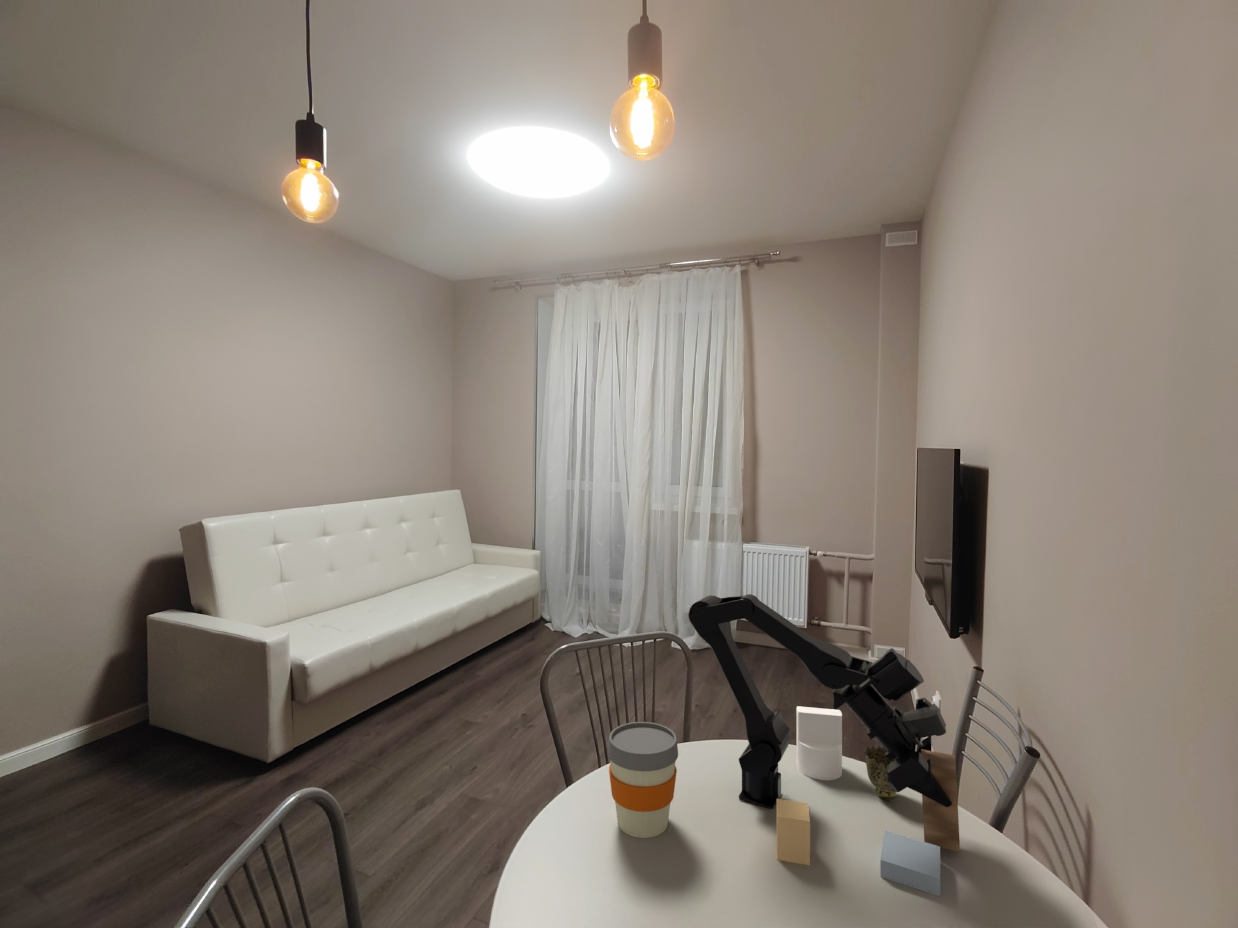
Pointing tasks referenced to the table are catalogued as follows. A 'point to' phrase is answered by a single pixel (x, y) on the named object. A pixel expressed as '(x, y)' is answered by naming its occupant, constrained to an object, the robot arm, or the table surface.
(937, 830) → the walnut pillar
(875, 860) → the table surface
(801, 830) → the ochre block
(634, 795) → the reusable coffee cup
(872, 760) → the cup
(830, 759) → the cylinder with rectangular tab
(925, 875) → the slate block
